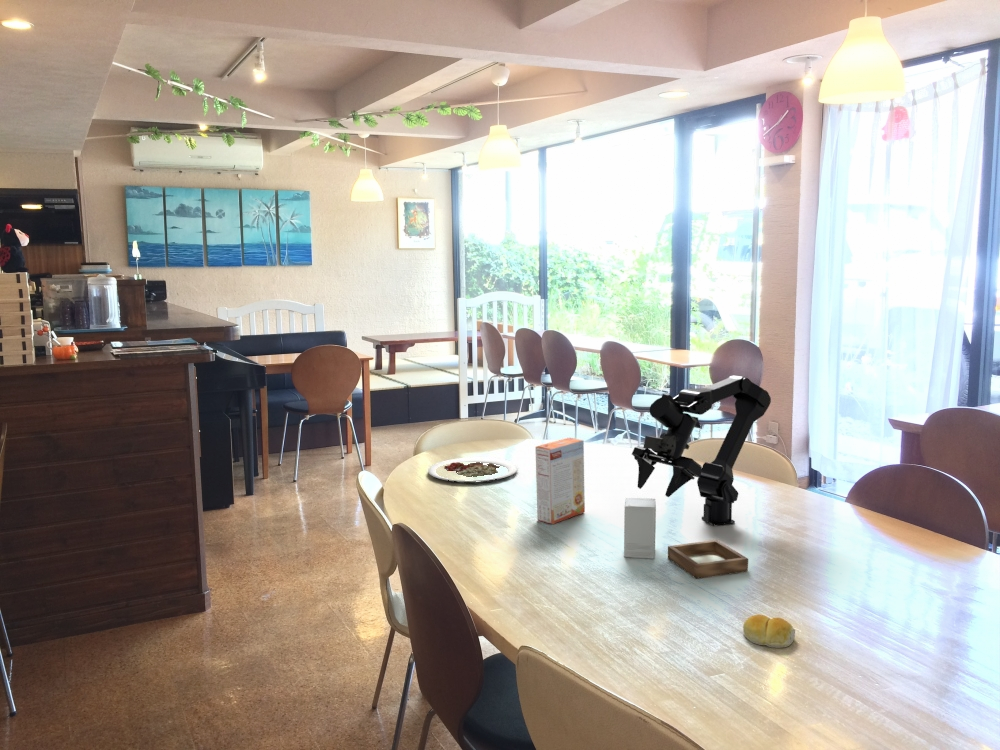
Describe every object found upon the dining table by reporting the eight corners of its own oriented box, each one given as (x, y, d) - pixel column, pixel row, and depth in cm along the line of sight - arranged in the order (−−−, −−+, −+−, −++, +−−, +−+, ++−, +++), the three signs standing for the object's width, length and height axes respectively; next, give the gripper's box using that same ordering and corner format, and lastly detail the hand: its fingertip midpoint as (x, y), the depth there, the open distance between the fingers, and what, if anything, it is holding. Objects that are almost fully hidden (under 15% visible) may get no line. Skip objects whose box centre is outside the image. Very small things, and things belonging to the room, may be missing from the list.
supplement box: (655, 559, 188) (655, 507, 186) (623, 557, 189) (623, 506, 188) (655, 548, 195) (656, 498, 193) (624, 546, 197) (625, 496, 195)
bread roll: (749, 624, 154) (749, 604, 154) (797, 635, 149) (798, 615, 149) (736, 641, 147) (737, 621, 147) (787, 653, 143) (787, 632, 142)
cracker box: (569, 508, 227) (568, 436, 224) (585, 513, 223) (585, 439, 220) (535, 520, 218) (534, 445, 215) (552, 525, 213) (551, 448, 210)
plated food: (518, 485, 253) (518, 475, 252) (423, 487, 253) (423, 476, 253) (517, 461, 282) (517, 452, 282) (432, 463, 283) (432, 453, 282)
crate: (716, 551, 192) (716, 539, 191) (747, 571, 180) (748, 558, 179) (667, 558, 188) (667, 546, 188) (696, 578, 176) (696, 565, 176)
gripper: (631, 416, 204) (606, 471, 200) (689, 427, 189) (662, 487, 185) (656, 435, 210) (632, 488, 207) (713, 447, 195) (689, 505, 192)
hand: (652, 492), depth 197 cm, fingers open, 9 cm apart
